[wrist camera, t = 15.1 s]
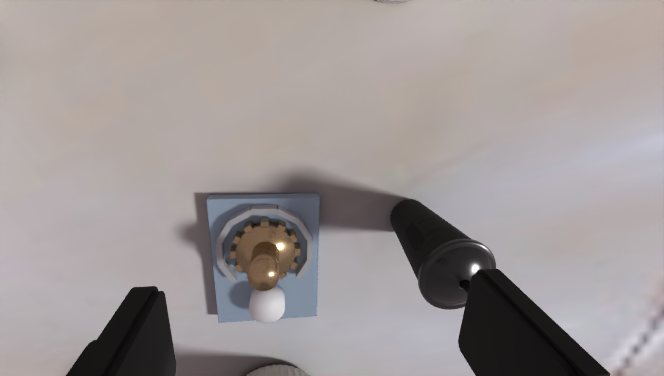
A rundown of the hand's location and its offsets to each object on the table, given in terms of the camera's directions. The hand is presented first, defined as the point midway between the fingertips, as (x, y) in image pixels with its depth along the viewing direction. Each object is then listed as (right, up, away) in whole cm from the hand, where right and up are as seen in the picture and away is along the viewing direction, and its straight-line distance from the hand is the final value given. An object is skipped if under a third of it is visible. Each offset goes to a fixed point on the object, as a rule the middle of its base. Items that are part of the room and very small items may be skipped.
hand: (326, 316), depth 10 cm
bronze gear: (-8, -3, +31) cm, 32 cm away
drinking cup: (+10, 0, +34) cm, 36 cm away
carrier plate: (-8, -5, +33) cm, 35 cm away
